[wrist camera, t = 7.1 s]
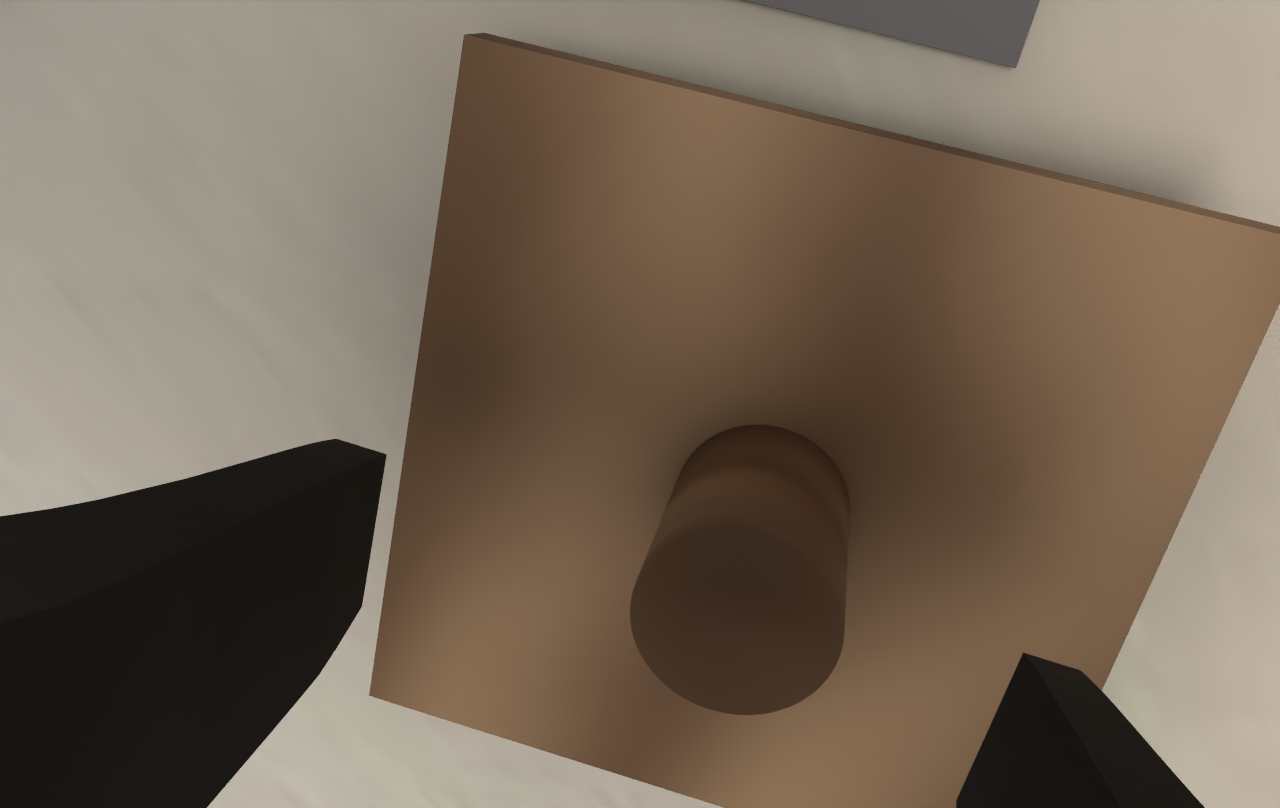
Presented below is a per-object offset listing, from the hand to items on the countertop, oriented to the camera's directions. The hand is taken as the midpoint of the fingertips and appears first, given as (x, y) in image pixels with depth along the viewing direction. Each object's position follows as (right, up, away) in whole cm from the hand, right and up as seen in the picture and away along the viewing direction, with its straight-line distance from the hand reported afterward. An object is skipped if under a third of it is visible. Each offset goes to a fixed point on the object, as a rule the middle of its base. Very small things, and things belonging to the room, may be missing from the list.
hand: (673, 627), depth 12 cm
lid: (+2, +1, +6) cm, 7 cm away
